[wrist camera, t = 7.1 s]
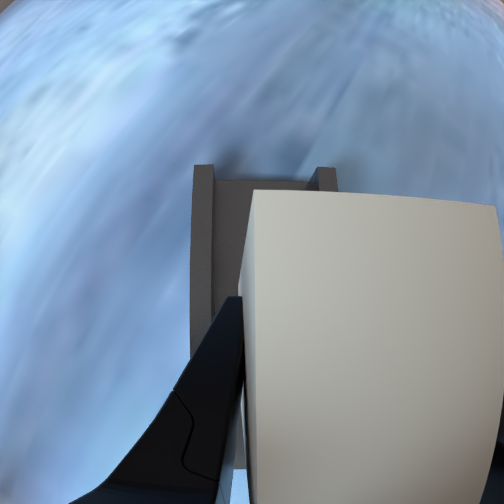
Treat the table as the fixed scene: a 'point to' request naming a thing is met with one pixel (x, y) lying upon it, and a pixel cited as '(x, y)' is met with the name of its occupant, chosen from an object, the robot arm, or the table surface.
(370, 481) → the cream rectangular block
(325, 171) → the bottom track
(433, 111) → the table surface
